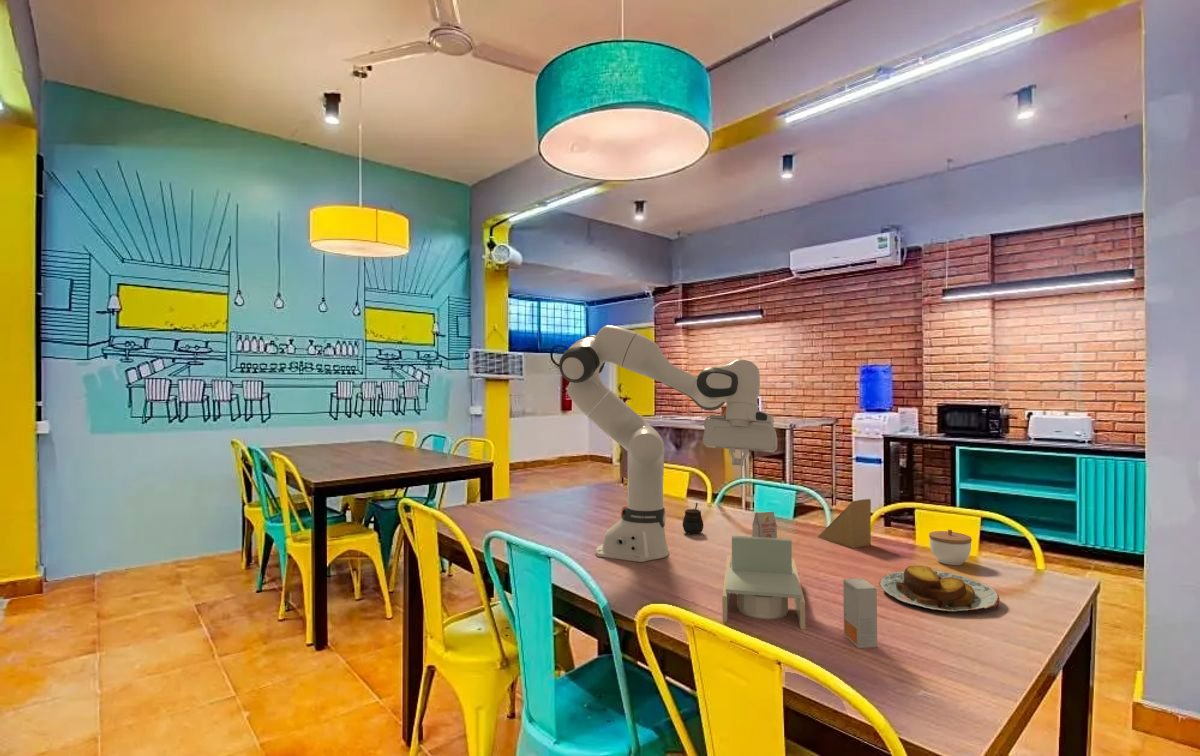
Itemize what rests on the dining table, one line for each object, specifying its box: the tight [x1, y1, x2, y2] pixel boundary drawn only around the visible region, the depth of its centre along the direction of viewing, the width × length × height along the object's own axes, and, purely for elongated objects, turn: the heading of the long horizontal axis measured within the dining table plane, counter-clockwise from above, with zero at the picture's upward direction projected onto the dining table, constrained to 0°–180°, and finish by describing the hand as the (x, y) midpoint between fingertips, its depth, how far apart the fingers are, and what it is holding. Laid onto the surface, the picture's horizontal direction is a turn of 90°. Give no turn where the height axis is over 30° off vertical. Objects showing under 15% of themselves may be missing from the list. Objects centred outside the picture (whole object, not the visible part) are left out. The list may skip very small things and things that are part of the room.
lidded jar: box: [928, 529, 973, 566], centre depth 175 cm, size 11×11×9 cm
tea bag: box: [752, 511, 778, 538], centre depth 197 cm, size 4×7×10 cm, turn 108°
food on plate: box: [878, 565, 1000, 618], centre depth 148 cm, size 25×25×7 cm
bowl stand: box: [721, 554, 806, 630], centre depth 146 cm, size 17×32×6 cm, turn 166°
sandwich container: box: [817, 498, 872, 549], centre depth 199 cm, size 9×15×15 cm, turn 26°
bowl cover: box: [726, 535, 801, 599], centre depth 140 cm, size 16×16×9 cm
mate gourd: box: [682, 502, 704, 536], centre depth 210 cm, size 7×8×10 cm
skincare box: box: [842, 578, 878, 649], centre depth 122 cm, size 6×4×12 cm
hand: (737, 465), depth 166 cm, fingers closed
